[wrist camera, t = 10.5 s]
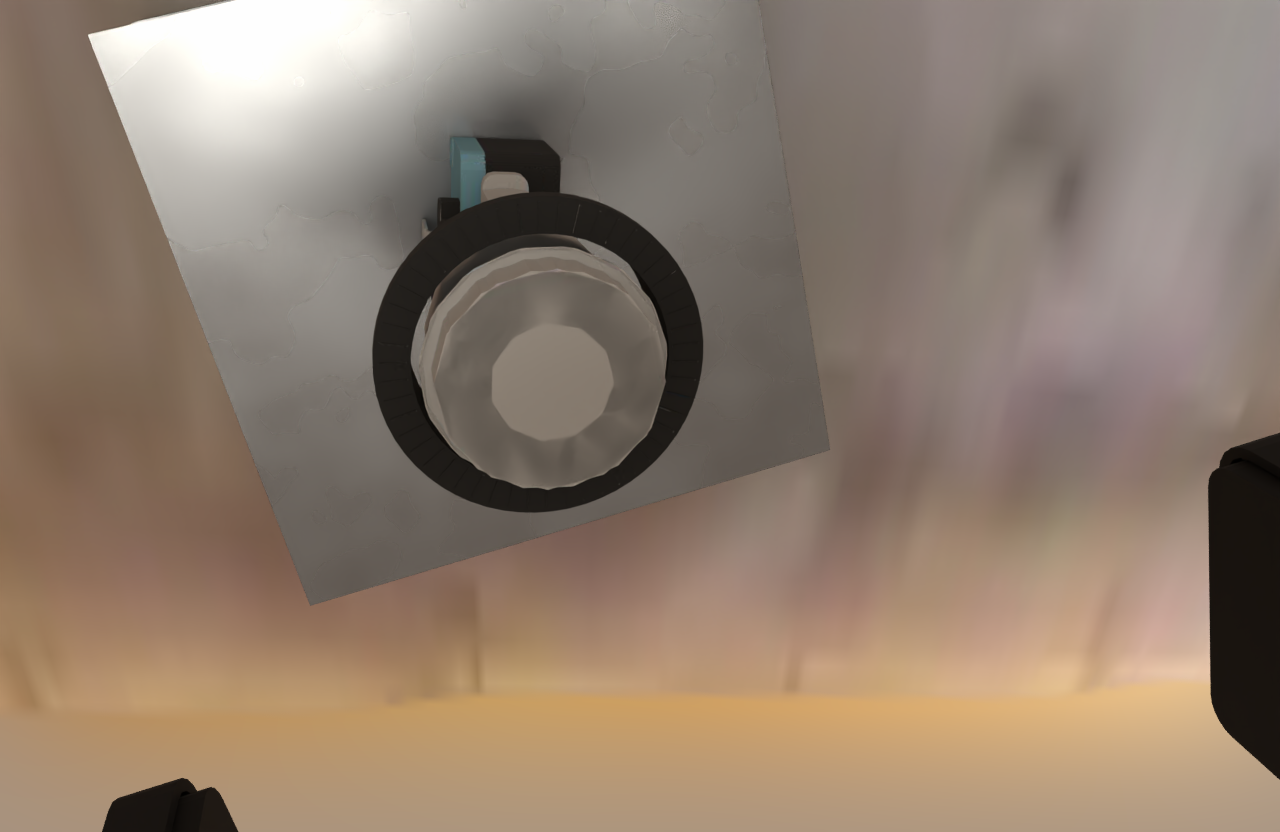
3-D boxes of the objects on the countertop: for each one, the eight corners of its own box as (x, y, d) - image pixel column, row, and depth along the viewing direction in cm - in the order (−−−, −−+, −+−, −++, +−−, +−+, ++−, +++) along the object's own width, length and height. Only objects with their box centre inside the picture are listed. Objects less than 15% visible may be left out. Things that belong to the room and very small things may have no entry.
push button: (591, 399, 29) (698, 603, 20) (370, 402, 27) (376, 622, 18) (606, 125, 26) (737, 213, 17) (366, 116, 25) (370, 204, 16)
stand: (672, -104, 30) (739, -118, 25) (759, 376, 36) (830, 450, 31) (139, 20, 29) (87, 34, 23) (318, 503, 34) (310, 605, 29)
